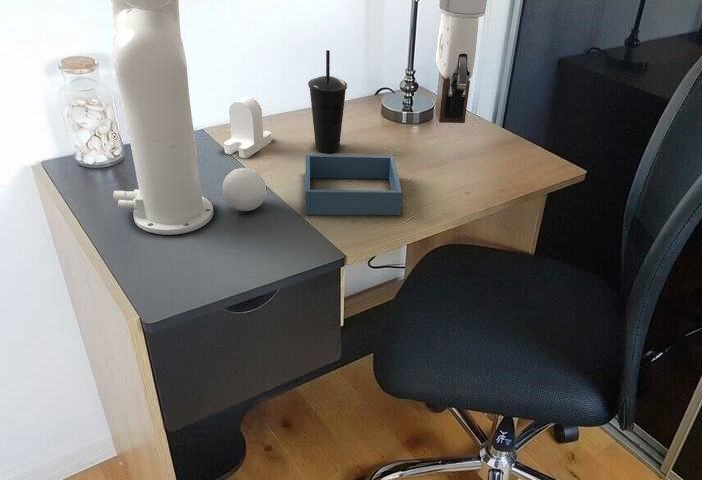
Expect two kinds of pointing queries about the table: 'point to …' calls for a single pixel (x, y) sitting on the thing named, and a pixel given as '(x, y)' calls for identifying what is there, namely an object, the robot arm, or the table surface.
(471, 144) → the table surface
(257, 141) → the cable organizer
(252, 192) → the white ball
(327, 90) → the drinking cup
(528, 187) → the table surface
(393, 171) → the desk tub
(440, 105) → the walnut block
